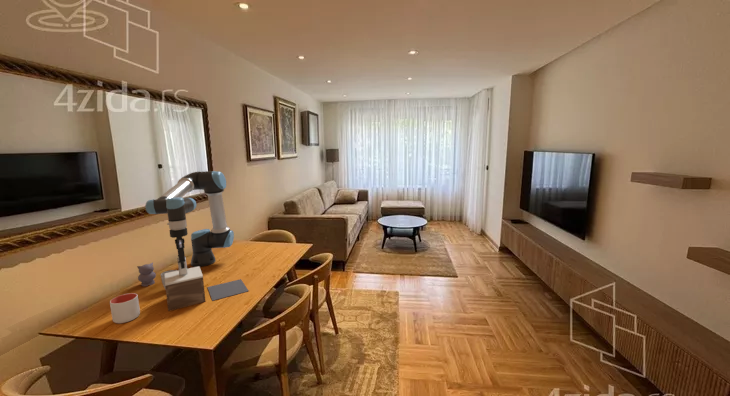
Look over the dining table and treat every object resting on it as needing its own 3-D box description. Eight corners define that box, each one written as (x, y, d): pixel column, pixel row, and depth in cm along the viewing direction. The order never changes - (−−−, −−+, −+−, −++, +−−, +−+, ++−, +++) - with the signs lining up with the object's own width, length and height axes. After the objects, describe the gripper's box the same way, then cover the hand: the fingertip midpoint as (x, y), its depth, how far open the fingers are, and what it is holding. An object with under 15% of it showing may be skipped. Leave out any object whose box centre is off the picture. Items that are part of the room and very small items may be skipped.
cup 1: (123, 313, 141) (120, 293, 140) (145, 312, 142) (142, 292, 141) (107, 325, 131) (103, 304, 130) (130, 323, 132) (127, 303, 131)
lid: (164, 276, 154) (162, 256, 152) (199, 269, 163) (197, 250, 161) (165, 287, 141) (162, 266, 139) (203, 279, 150) (201, 258, 148)
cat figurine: (140, 288, 168) (137, 268, 166) (137, 284, 173) (134, 265, 171) (158, 283, 174) (156, 264, 172) (155, 279, 179) (152, 260, 177)
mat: (207, 287, 167) (207, 287, 167) (240, 279, 178) (240, 279, 178) (212, 300, 152) (212, 300, 152) (248, 291, 162) (248, 290, 162)
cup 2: (183, 287, 168) (181, 270, 167) (169, 293, 160) (167, 276, 159) (172, 285, 171) (170, 269, 169) (159, 291, 163) (156, 274, 162)
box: (167, 298, 156) (164, 274, 154) (201, 289, 165) (199, 267, 163) (168, 311, 143) (165, 285, 141) (205, 301, 152) (203, 277, 150)
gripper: (168, 226, 152) (173, 269, 156) (169, 233, 139) (175, 280, 142) (185, 224, 157) (190, 266, 160) (188, 230, 143) (193, 276, 147)
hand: (183, 272), depth 151 cm, fingers closed on lid, 4 cm apart
